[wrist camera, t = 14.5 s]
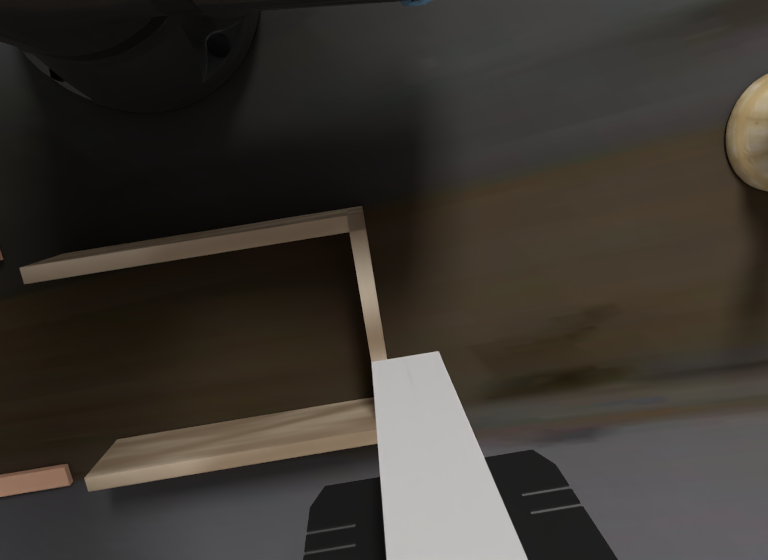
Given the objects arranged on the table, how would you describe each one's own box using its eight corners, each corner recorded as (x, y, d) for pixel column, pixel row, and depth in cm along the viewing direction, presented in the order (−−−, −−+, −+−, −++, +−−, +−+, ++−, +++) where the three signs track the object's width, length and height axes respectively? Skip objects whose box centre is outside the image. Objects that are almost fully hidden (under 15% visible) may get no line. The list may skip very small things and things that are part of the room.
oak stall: (63, 253, 37) (19, 267, 32) (362, 205, 37) (363, 212, 33) (120, 451, 40) (88, 491, 36) (394, 406, 41) (400, 439, 36)
